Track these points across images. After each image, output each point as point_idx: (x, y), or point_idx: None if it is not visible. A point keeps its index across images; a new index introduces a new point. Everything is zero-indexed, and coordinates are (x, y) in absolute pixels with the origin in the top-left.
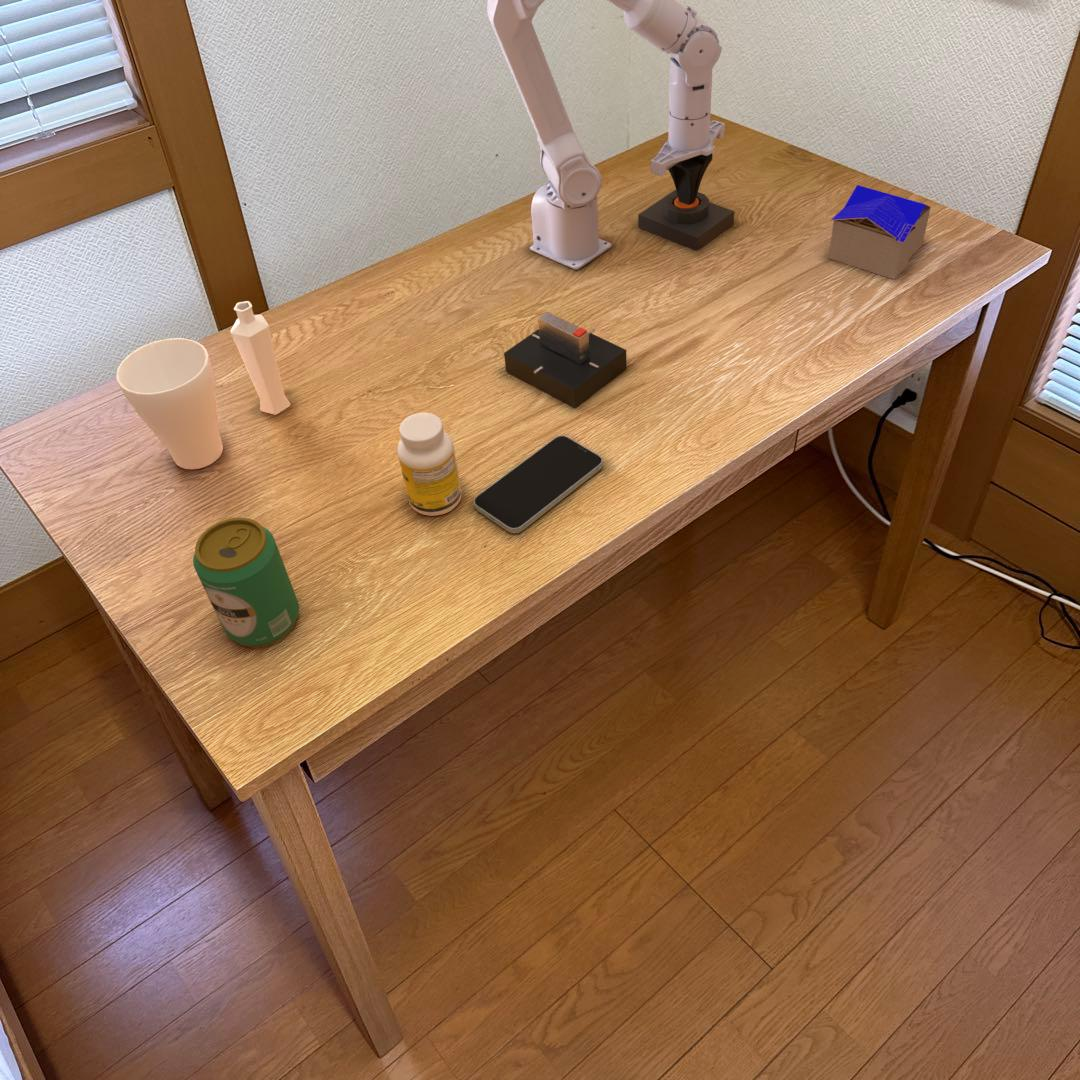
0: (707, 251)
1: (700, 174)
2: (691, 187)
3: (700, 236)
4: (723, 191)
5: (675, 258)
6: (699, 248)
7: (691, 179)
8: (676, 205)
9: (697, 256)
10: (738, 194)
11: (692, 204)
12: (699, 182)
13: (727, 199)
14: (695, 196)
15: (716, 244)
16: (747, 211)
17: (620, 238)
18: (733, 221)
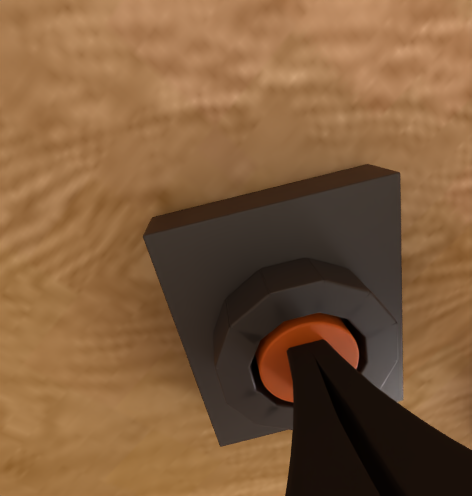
0: (345, 136)
1: (348, 468)
2: (390, 400)
3: (378, 176)
4: (56, 386)
5: (446, 176)
6: (356, 167)
7: (466, 449)
8: (356, 363)
9: (393, 134)
10: (21, 351)
11: (312, 335)
12: (313, 417)
13: (72, 347)
14: (302, 361)
15: (289, 152)
16: (53, 255)
17: (447, 352)
18: (152, 221)
